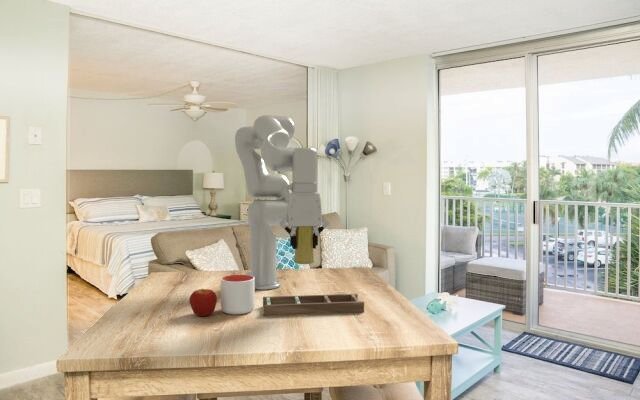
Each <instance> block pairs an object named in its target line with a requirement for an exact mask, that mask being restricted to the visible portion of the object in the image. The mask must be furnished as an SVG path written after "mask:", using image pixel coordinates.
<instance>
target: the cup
mask: <svg viewBox="0 0 640 400" xmlns="http://www.w3.org/2000/svg"><path fill="white" fill-rule="evenodd" d="M255 291H256V289H255V278H254V277H253V276H250V275H245V274H230V275H224V276H222V277H221V278H220V309H221V311H222V312H224V313H225V314H228V315H243V314H248V313H250V312H252V311H253V310H254V309H255V305H256V303H255V302H256V301H255V299H256V298H255V297H256V296H255V295H256V294H255Z"/></svg>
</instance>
